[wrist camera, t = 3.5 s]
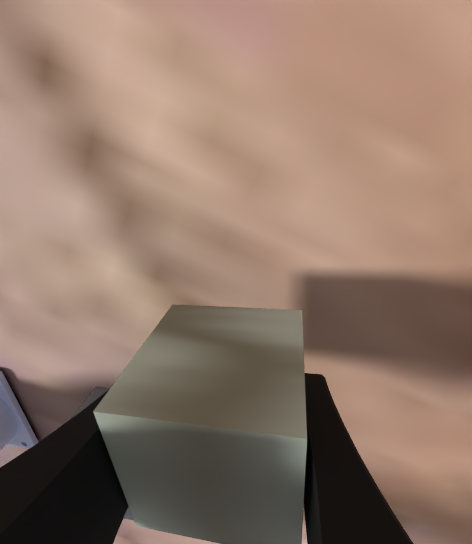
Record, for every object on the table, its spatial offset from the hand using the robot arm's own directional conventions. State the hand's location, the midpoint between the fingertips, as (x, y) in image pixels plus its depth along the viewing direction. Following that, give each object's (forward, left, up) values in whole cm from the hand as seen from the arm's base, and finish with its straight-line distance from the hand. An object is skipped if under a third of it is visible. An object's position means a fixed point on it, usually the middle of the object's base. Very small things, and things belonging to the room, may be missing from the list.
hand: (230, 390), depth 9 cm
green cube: (0, 0, -2) cm, 2 cm away
